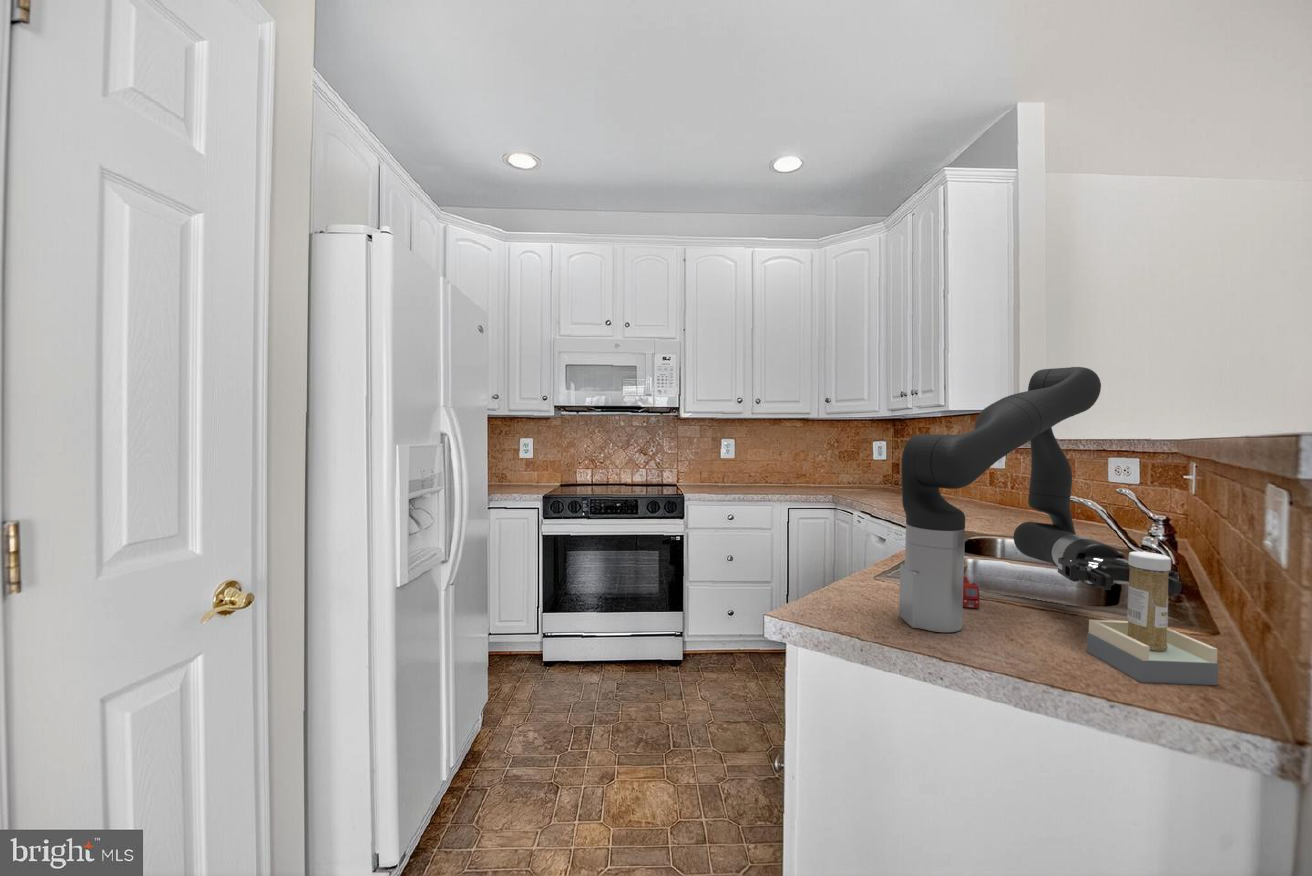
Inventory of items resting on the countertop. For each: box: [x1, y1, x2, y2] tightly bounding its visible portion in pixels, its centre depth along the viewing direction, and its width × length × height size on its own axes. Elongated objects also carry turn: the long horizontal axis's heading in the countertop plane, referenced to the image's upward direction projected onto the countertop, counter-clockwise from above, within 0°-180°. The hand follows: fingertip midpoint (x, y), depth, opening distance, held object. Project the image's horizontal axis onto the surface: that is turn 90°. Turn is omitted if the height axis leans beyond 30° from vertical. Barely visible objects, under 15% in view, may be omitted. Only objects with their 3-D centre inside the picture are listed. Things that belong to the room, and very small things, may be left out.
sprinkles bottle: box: [1126, 551, 1172, 651], centre depth 79 cm, size 5×5×13 cm
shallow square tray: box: [1086, 619, 1219, 686], centre depth 79 cm, size 10×10×5 cm
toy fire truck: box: [963, 558, 980, 609], centre depth 109 cm, size 3×14×10 cm, turn 168°
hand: (1142, 585), depth 80 cm, fingers open, 8 cm apart
